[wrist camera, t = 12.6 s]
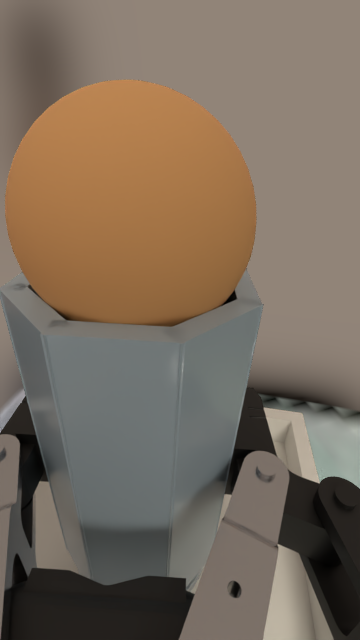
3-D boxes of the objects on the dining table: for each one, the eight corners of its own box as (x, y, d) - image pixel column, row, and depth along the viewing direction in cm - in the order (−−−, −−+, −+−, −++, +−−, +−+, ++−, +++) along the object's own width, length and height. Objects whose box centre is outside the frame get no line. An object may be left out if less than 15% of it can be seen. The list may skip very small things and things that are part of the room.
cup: (205, 477, 16) (239, 250, 10) (211, 627, 11) (285, 350, 5) (96, 470, 16) (65, 240, 10) (53, 616, 11) (-59, 329, 5)
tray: (68, 409, 22) (62, 377, 21) (291, 444, 21) (302, 413, 19) (-197, 819, 9) (-269, 812, 7) (402, 1039, 7) (471, 1089, 5)
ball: (179, 278, 11) (188, 108, 9) (281, 354, 7) (352, 83, 5) (24, 302, 9) (-25, 81, 6) (50, 430, 5) (-50, -8, 3)
